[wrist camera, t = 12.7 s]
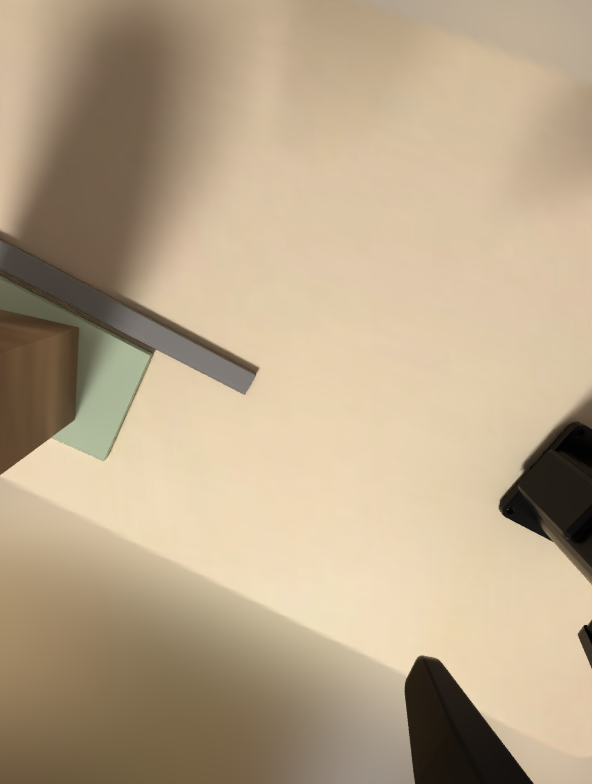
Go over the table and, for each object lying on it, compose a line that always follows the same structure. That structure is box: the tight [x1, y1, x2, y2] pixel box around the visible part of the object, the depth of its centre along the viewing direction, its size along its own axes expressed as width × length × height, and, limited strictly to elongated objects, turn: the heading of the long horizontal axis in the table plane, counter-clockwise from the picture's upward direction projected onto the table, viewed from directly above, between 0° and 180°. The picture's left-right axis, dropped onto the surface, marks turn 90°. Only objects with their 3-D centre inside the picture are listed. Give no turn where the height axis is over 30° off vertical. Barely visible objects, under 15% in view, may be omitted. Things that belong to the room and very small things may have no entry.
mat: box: [0, 276, 153, 461], centre depth 19 cm, size 10×7×1 cm
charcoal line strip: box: [0, 239, 256, 395], centre depth 18 cm, size 22×1×1 cm, turn 61°
